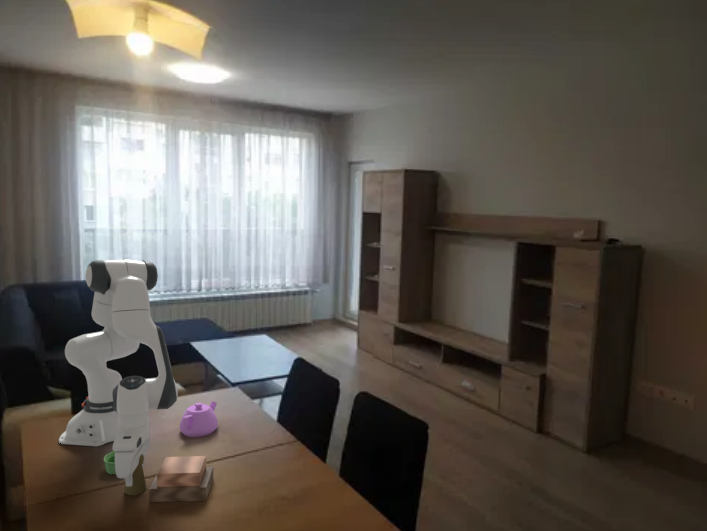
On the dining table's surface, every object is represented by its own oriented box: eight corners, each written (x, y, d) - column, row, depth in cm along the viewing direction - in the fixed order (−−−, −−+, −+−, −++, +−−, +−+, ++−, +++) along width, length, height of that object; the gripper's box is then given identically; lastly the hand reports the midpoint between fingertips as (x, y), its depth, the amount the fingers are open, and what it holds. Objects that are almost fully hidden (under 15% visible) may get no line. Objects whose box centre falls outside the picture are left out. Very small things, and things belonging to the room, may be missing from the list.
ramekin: (104, 464, 167) (104, 452, 166) (134, 459, 170) (134, 447, 170) (103, 478, 159) (102, 464, 158) (134, 472, 162) (134, 459, 162)
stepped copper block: (149, 502, 146) (148, 475, 145) (160, 480, 158) (160, 455, 157) (206, 500, 148) (206, 474, 147) (213, 478, 160) (213, 454, 159)
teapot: (230, 422, 201) (230, 396, 200) (200, 444, 183) (199, 415, 181) (200, 417, 206) (200, 391, 205) (167, 437, 187) (167, 409, 186)
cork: (138, 496, 149) (137, 460, 148) (119, 493, 150) (118, 458, 149) (150, 485, 155) (149, 451, 154) (132, 483, 156) (131, 448, 155)
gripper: (134, 417, 160) (135, 459, 162) (110, 448, 140) (111, 495, 142) (155, 417, 161) (155, 459, 163) (133, 448, 141) (135, 495, 142)
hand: (135, 476), depth 152 cm, fingers open, 8 cm apart
